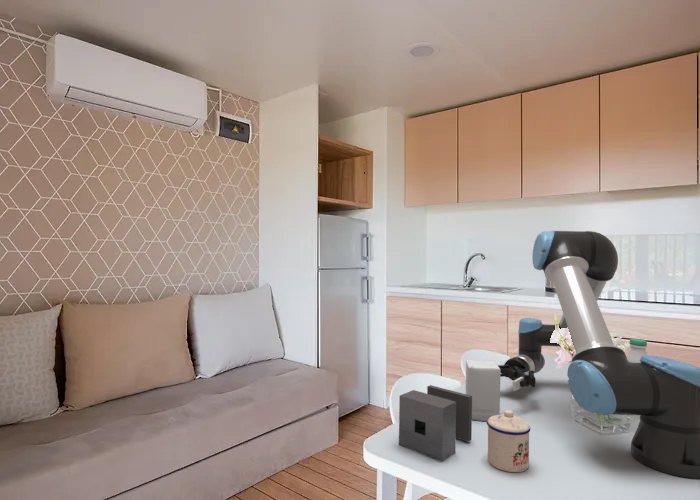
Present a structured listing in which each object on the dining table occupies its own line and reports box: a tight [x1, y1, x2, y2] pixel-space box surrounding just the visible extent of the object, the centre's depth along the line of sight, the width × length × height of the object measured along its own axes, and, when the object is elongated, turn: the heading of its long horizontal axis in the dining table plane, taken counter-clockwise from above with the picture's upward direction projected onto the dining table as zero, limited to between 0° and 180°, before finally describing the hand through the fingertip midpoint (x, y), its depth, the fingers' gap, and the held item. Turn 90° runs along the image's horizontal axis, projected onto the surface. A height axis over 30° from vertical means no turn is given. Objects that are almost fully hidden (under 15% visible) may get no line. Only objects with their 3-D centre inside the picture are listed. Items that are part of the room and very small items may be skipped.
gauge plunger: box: [426, 384, 473, 443], centre depth 107 cm, size 14×10×11 cm, turn 47°
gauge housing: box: [398, 389, 457, 463], centre depth 106 cm, size 15×15×12 cm
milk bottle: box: [626, 338, 648, 363], centre depth 137 cm, size 8×8×20 cm
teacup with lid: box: [486, 409, 531, 473], centre depth 96 cm, size 12×9×12 cm
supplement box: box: [465, 359, 501, 422], centre depth 123 cm, size 9×9×15 cm
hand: (491, 381), depth 128 cm, fingers open, 13 cm apart
